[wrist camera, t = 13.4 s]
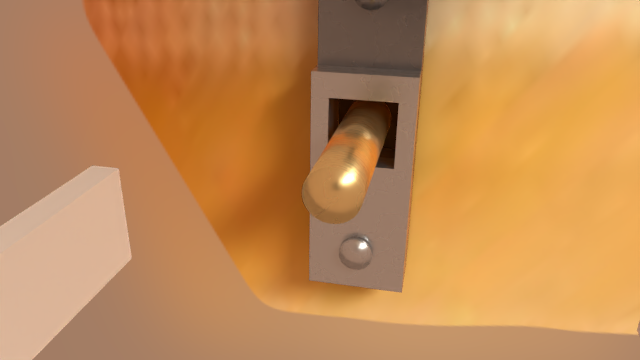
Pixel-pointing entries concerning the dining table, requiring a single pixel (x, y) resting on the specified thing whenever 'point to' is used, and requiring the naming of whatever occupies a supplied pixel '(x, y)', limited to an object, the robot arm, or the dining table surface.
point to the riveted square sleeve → (393, 164)
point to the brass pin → (347, 163)
